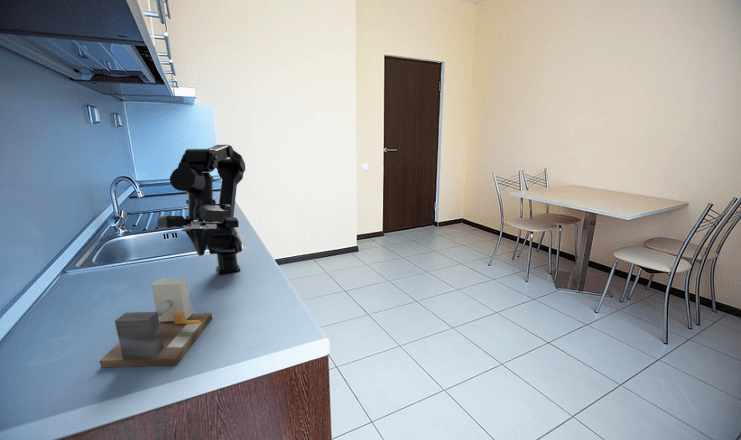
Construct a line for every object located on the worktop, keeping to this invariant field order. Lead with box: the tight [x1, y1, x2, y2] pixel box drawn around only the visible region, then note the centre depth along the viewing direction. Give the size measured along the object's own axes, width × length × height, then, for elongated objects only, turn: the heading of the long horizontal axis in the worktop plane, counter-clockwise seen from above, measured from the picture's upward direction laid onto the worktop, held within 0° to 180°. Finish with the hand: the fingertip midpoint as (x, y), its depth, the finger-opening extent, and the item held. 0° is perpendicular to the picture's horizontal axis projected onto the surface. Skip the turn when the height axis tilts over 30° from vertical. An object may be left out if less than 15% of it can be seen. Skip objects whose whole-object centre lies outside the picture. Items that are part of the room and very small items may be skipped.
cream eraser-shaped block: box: [151, 277, 193, 321], centre depth 74 cm, size 7×6×9 cm
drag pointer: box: [174, 313, 201, 324], centre depth 75 cm, size 1×5×2 cm, turn 92°
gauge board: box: [99, 311, 213, 369], centre depth 71 cm, size 16×14×10 cm
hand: (200, 255), depth 88 cm, fingers closed
